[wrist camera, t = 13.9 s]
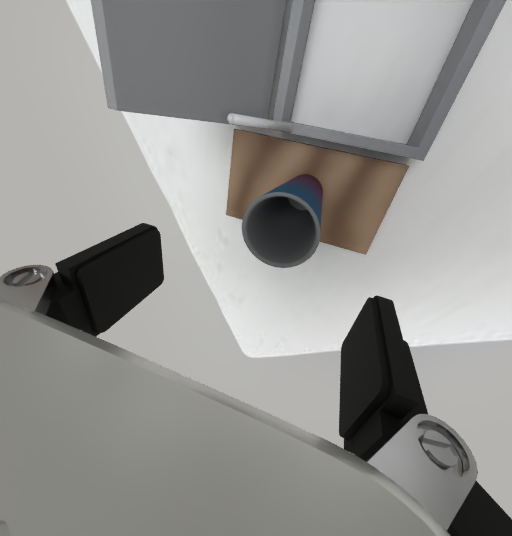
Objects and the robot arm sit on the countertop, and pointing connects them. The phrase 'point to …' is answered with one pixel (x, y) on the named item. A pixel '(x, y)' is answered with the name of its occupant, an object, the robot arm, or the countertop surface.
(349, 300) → the countertop surface
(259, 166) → the walnut board
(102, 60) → the case lid
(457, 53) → the equipment case
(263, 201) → the cup
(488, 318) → the countertop surface
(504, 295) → the countertop surface
